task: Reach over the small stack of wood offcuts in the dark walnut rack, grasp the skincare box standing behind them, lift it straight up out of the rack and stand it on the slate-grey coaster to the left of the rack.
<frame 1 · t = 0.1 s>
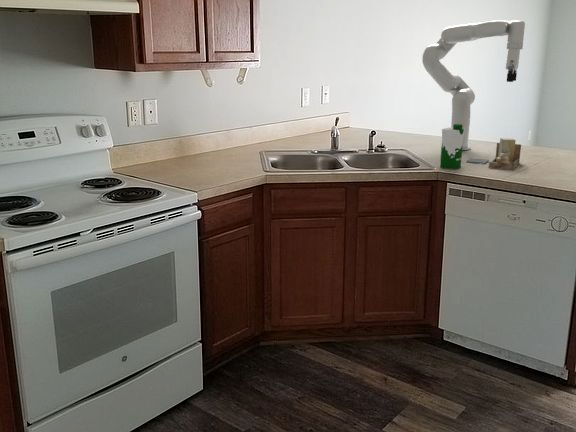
hand: (511, 81, 313), 37 cm above the worktop, tool pointing down, fingers open, 9 cm apart
slate coaster: (477, 161, 298), on the worktop
milk carton: (450, 167, 285), on the worktop
offcut mid: (502, 162, 285), point 2 cm above the worktop, touching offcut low, offcut top
offcut top: (503, 158, 284), point 4 cm above the worktop, touching offcut mid
skincare box: (505, 164, 292), resting in walnut rack
walnut rack: (504, 165, 290), on the worktop
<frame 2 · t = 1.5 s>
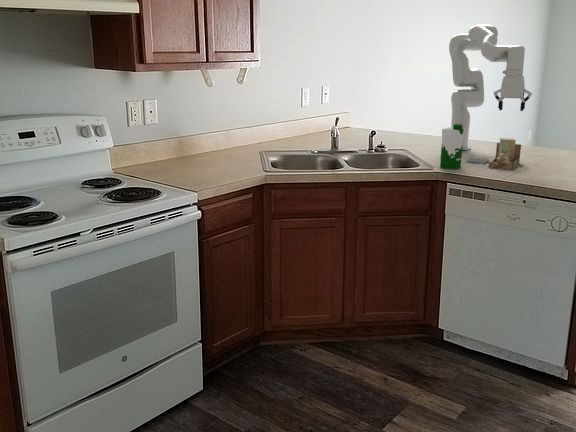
hand: (511, 110, 289), 25 cm above the worktop, tool pointing down, fingers open, 9 cm apart
offcut mid: (502, 162, 285), point 2 cm above the worktop
offcut top: (503, 158, 284), point 4 cm above the worktop
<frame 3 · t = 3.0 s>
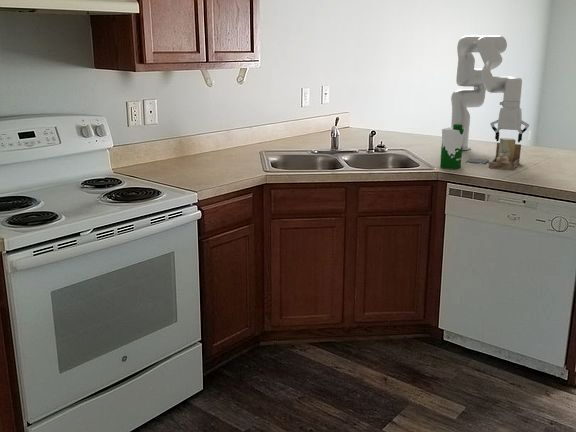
hand: (508, 141, 289), 11 cm above the worktop, tool pointing down, fingers open, 9 cm apart
offcut mid: (502, 162, 285), point 2 cm above the worktop, touching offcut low
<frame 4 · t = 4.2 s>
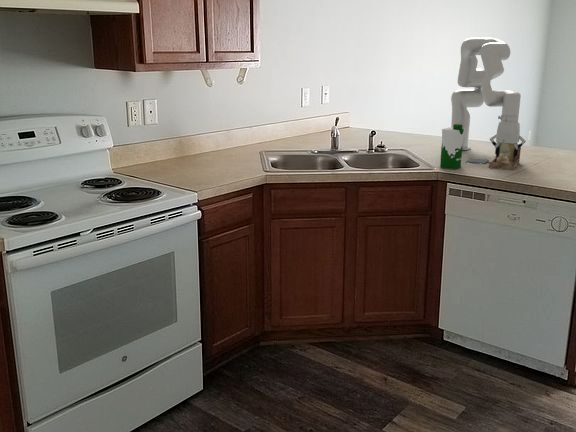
hand: (506, 156, 291), 4 cm above the worktop, tool pointing down, fingers closed on skincare box, 7 cm apart
offcut mid: (502, 162, 285), point 2 cm above the worktop, touching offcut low, offcut top
offcut top: (503, 158, 284), point 4 cm above the worktop, touching offcut mid
skincare box: (505, 164, 292), resting in walnut rack, touching gripper
everything else where it was.
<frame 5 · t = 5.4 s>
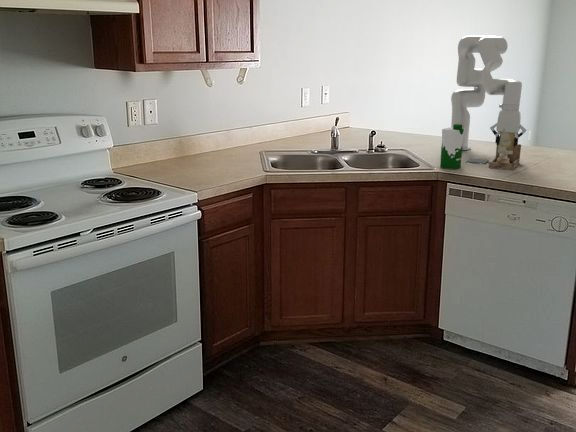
hand: (506, 145, 290), 9 cm above the worktop, tool pointing down, fingers closed on skincare box, 7 cm apart
skincare box: (505, 153, 292), point 5 cm above the worktop, touching gripper
everything else where it was.
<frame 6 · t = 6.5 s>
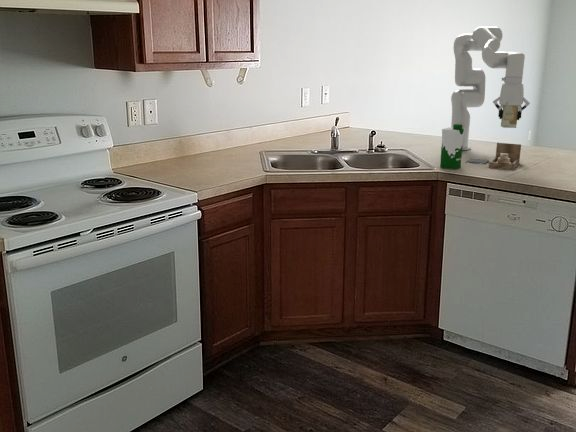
hand: (509, 119, 286), 21 cm above the worktop, tool pointing down, fingers closed on skincare box, 7 cm apart
skincare box: (508, 127, 288), point 17 cm above the worktop, touching gripper
everything else where it was.
when the fingers open (6 cm above the worktop, at t = 10.9 s): skincare box drops 1 cm, resting on slate coaster.
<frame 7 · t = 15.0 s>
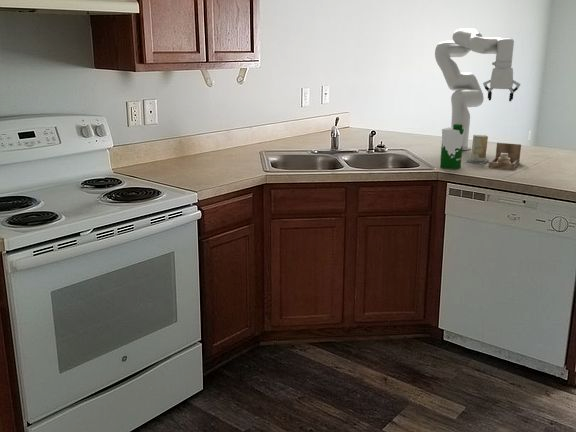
hand: (499, 100, 301), 28 cm above the worktop, tool pointing down, fingers open, 9 cm apart
skincare box: (478, 160, 298), resting on slate coaster
at the end: skincare box inside the target area on the slate coaster (0.3 cm from its centre), point 0.4 cm above the slate coaster's base; skincare box tilted 0°; the gripper is holding nothing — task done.
